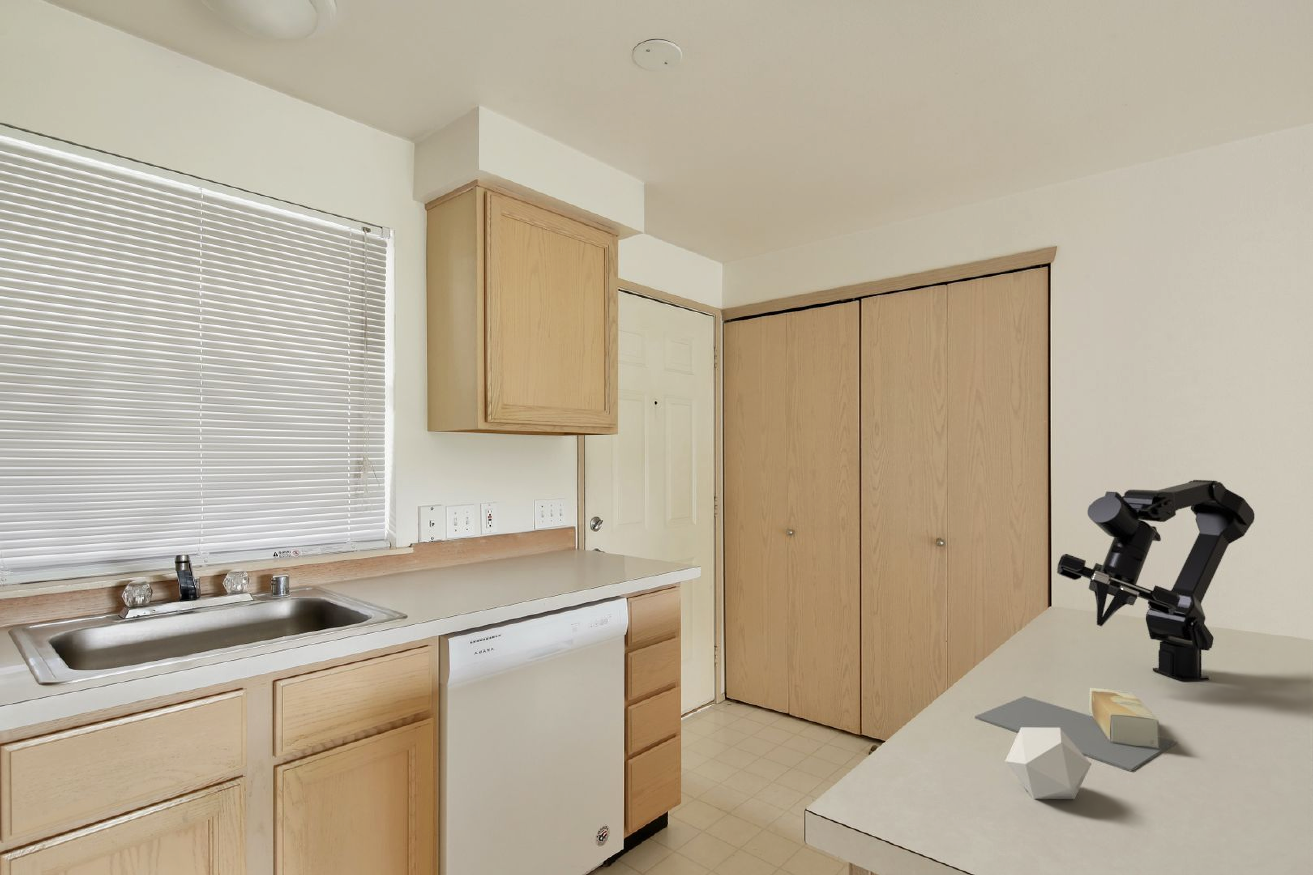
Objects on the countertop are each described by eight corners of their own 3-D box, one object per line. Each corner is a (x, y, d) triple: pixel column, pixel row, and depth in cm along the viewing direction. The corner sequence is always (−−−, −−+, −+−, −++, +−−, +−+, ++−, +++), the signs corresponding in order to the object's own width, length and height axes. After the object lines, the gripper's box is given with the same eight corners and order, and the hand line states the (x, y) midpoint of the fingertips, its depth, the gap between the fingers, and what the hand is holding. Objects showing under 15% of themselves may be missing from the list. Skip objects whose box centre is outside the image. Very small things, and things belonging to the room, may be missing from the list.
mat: (1024, 697, 119) (1024, 696, 119) (1175, 742, 101) (1175, 740, 101) (975, 717, 110) (975, 715, 110) (1131, 771, 92) (1131, 769, 92)
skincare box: (1132, 691, 110) (1161, 719, 98) (1132, 718, 110) (1162, 749, 98) (1086, 686, 112) (1110, 713, 100) (1086, 713, 112) (1110, 743, 100)
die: (1087, 824, 80) (1112, 748, 83) (1017, 781, 81) (1045, 708, 85) (1048, 814, 87) (1073, 745, 91) (985, 775, 89) (1012, 708, 92)
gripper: (1181, 583, 127) (1153, 659, 124) (1071, 545, 138) (1042, 613, 135) (1192, 564, 119) (1163, 645, 115) (1073, 525, 130) (1043, 598, 126)
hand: (1099, 625), depth 123 cm, fingers closed
